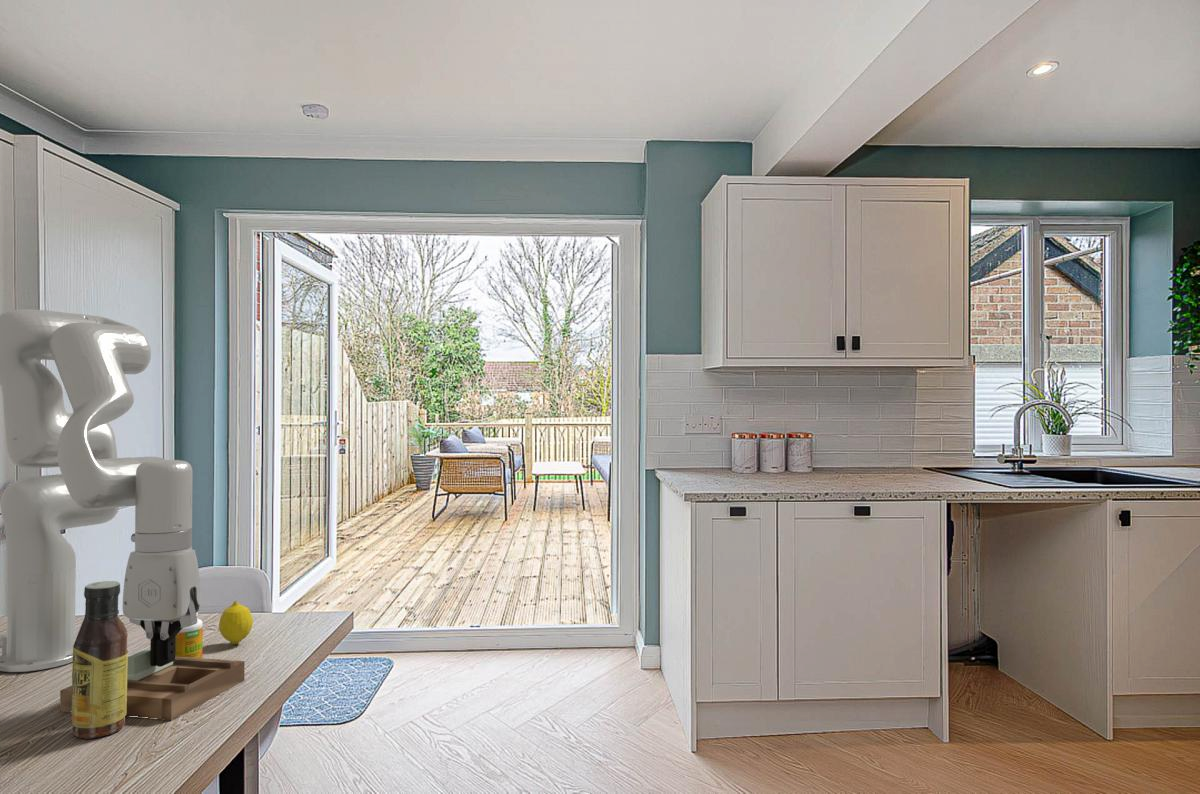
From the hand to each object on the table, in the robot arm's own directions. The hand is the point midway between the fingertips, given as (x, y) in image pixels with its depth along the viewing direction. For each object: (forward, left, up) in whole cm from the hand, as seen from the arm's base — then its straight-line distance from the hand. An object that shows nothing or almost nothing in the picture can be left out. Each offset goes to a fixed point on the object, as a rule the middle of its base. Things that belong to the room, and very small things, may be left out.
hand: (162, 663), depth 116 cm
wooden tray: (-1, 0, -5) cm, 5 cm away
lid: (-6, 0, -2) cm, 6 cm away
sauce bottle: (+1, -13, -5) cm, 14 cm away
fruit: (-5, +24, -5) cm, 25 cm away
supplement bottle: (-6, +12, -5) cm, 14 cm away
